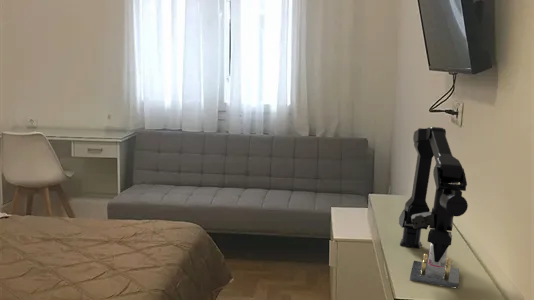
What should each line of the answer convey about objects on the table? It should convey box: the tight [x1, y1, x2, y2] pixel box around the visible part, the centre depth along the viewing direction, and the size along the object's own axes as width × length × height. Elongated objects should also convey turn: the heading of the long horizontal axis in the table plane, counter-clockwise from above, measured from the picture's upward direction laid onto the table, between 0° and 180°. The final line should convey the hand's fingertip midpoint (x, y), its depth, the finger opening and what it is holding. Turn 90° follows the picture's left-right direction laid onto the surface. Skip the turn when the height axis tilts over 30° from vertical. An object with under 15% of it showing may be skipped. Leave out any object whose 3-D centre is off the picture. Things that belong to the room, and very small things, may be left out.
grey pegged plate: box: [409, 253, 460, 289], centre depth 170 cm, size 13×13×5 cm
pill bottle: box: [427, 242, 448, 269], centre depth 169 cm, size 5×5×8 cm
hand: (436, 259), depth 170 cm, fingers closed on pill bottle, 5 cm apart
